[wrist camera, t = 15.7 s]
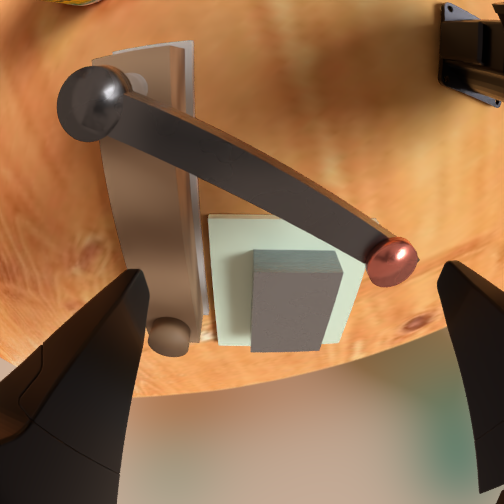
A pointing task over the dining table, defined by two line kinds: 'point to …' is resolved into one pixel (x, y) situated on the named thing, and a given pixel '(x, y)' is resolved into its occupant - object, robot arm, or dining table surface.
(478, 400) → the robot arm
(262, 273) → the flat grey slab block
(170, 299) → the body
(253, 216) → the mat
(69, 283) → the dining table surface
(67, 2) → the supplement bottle
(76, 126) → the lever
